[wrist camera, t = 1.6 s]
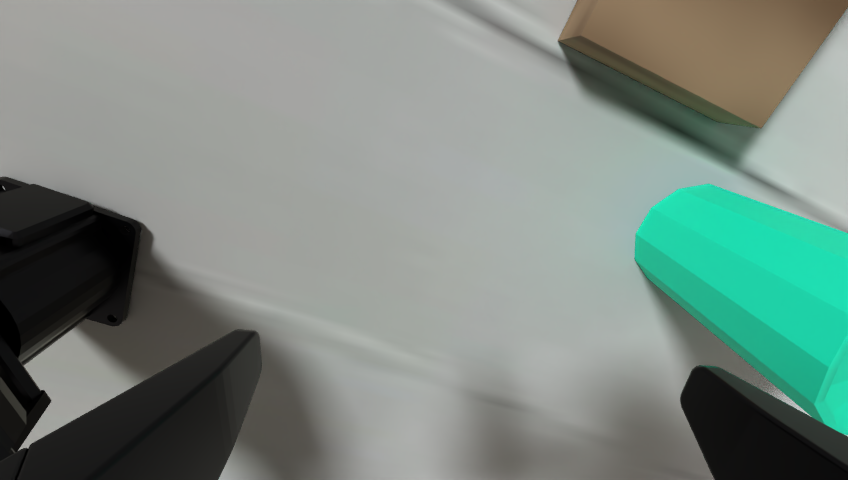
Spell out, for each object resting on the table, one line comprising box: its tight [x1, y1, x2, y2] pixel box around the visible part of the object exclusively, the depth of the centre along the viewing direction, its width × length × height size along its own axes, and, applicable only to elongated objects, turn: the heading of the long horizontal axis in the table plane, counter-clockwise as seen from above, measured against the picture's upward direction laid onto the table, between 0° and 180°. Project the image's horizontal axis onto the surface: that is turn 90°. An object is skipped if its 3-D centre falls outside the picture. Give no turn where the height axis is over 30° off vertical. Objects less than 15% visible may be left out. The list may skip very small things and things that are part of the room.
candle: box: [635, 184, 848, 435], centre depth 16 cm, size 6×6×12 cm
